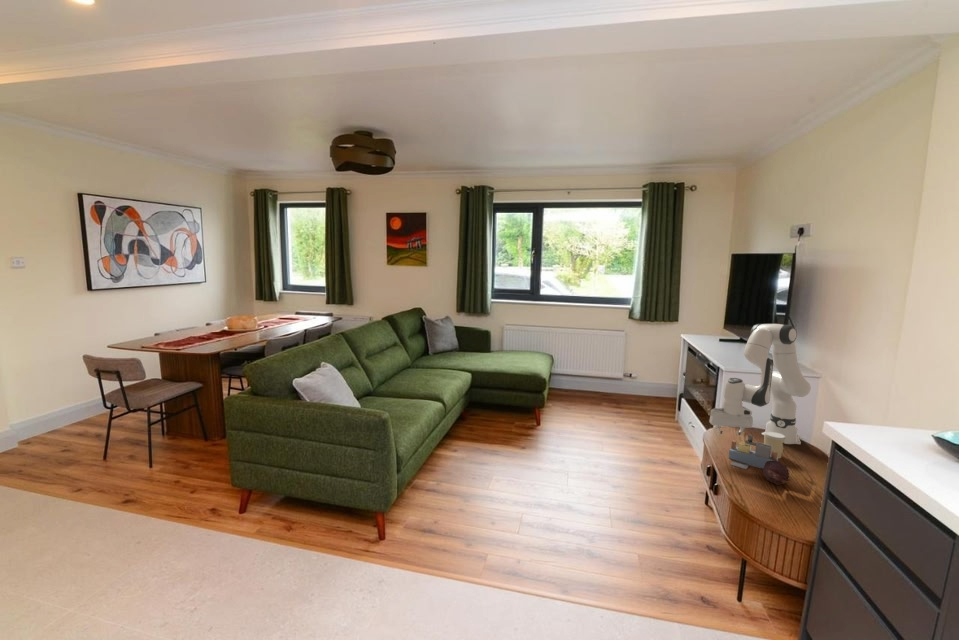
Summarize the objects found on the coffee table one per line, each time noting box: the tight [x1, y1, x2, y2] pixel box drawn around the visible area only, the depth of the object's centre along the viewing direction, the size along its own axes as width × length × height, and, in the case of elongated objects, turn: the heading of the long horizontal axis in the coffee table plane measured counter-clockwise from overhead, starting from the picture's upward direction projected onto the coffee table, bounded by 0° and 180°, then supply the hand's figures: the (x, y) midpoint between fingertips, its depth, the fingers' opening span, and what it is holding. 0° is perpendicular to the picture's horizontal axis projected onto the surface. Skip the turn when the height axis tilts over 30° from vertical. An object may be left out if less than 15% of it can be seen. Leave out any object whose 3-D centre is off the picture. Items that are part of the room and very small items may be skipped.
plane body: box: [728, 439, 779, 470], centre depth 216 cm, size 8×20×11 cm, turn 47°
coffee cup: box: [763, 431, 785, 459], centre depth 225 cm, size 9×9×12 cm
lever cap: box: [737, 440, 753, 454], centre depth 218 cm, size 5×5×4 cm
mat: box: [730, 460, 750, 470], centre depth 213 cm, size 6×7×1 cm
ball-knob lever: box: [744, 434, 764, 447], centre depth 215 cm, size 2×8×4 cm, turn 47°
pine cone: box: [762, 460, 790, 486], centre depth 196 cm, size 18×10×10 cm, turn 159°
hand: (729, 434), depth 223 cm, fingers open, 8 cm apart
